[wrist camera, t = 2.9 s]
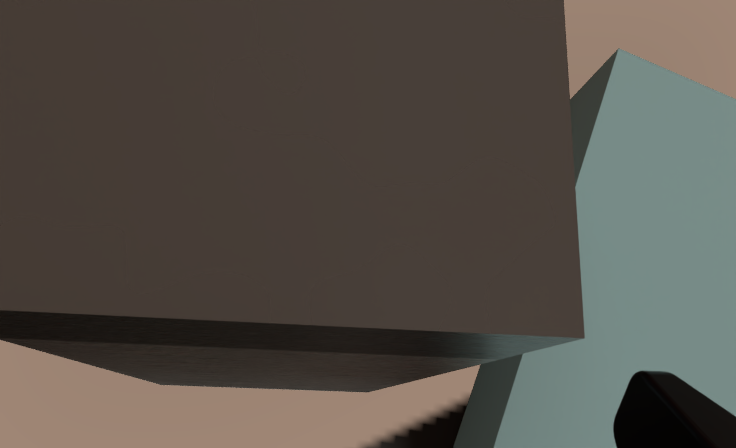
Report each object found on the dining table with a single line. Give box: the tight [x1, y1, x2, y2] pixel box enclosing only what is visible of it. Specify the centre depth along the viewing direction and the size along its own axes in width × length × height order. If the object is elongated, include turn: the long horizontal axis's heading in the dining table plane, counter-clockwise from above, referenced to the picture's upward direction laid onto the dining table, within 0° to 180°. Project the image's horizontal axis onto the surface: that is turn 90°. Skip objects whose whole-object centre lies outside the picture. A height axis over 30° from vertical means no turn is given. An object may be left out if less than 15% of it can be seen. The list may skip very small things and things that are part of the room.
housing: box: [0, 0, 585, 392], centre depth 11 cm, size 5×5×12 cm
